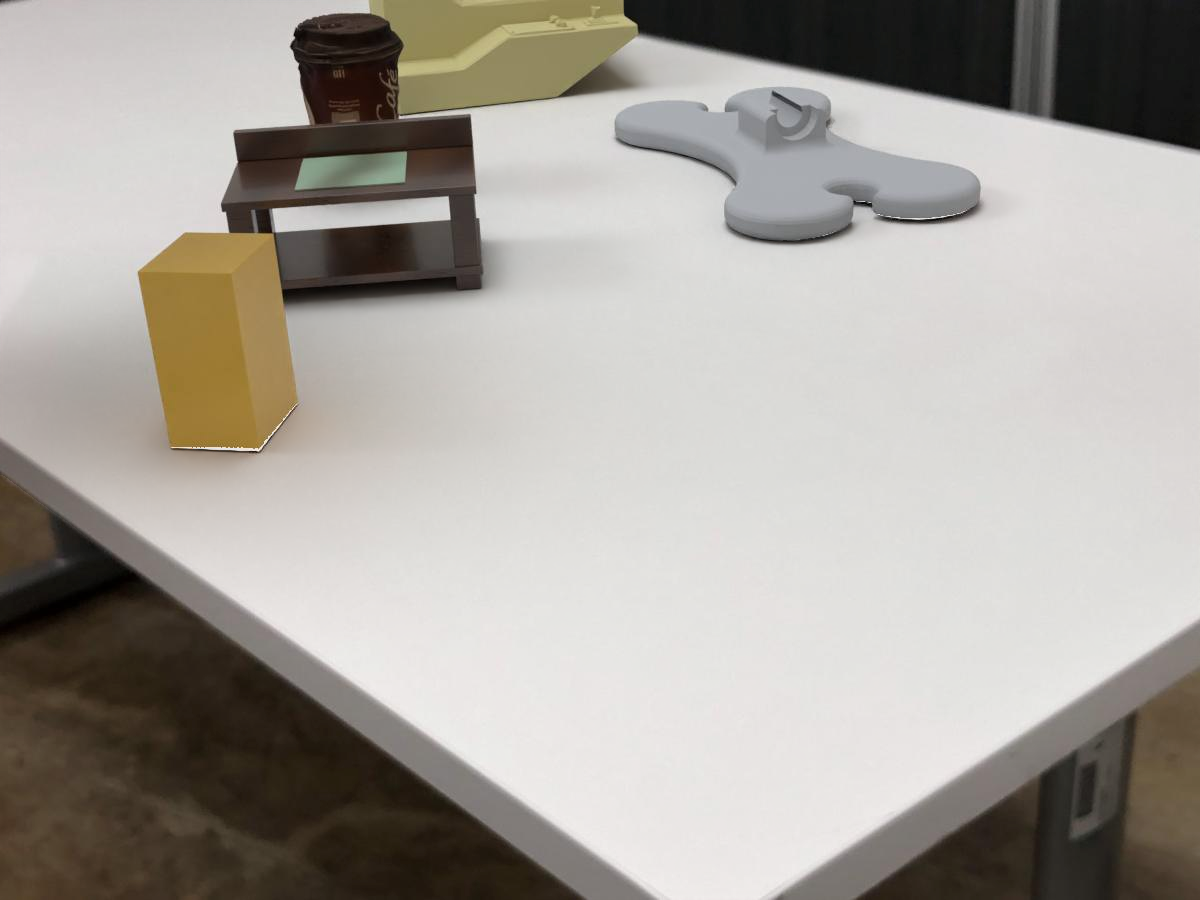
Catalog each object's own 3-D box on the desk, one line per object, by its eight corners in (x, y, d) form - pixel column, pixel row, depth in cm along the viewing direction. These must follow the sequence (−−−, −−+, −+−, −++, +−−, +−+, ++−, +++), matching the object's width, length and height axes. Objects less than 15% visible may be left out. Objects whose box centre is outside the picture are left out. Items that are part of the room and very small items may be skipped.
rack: (237, 307, 101) (215, 172, 97) (253, 255, 110) (234, 129, 106) (484, 289, 102) (473, 154, 98) (481, 239, 111) (470, 113, 107)
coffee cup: (286, 201, 121) (262, 30, 115) (339, 169, 128) (319, 7, 122) (386, 209, 118) (367, 35, 112) (435, 177, 125) (419, 11, 119)
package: (170, 449, 83) (136, 271, 79) (214, 401, 88) (185, 232, 84) (259, 452, 82) (231, 273, 78) (298, 404, 88) (273, 233, 83)
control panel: (400, -43, 135) (358, -95, 151) (387, 132, 142) (348, 65, 159) (657, -25, 143) (591, -77, 159) (632, 139, 150) (571, 75, 167)
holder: (804, 102, 140) (804, 46, 138) (1003, 212, 111) (1008, 143, 109) (601, 129, 135) (598, 71, 133) (753, 251, 106) (753, 179, 104)
